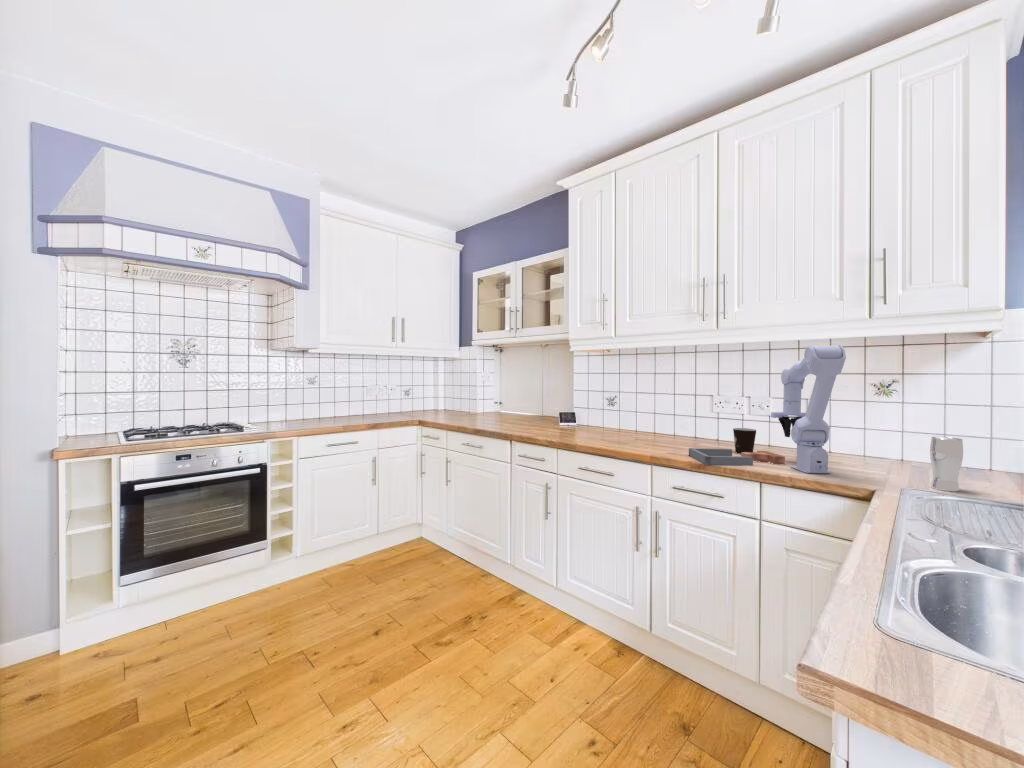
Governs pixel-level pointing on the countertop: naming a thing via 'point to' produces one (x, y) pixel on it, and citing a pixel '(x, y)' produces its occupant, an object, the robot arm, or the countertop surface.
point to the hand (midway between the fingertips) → (791, 436)
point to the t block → (765, 457)
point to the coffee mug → (744, 439)
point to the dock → (718, 457)
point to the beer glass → (946, 462)
